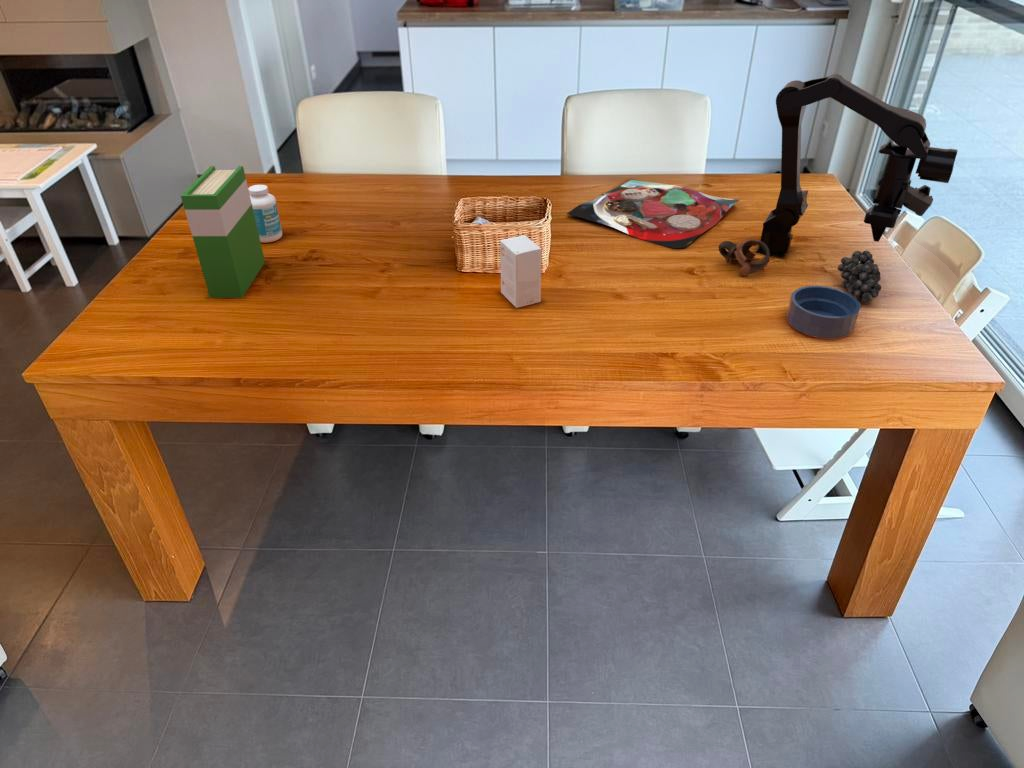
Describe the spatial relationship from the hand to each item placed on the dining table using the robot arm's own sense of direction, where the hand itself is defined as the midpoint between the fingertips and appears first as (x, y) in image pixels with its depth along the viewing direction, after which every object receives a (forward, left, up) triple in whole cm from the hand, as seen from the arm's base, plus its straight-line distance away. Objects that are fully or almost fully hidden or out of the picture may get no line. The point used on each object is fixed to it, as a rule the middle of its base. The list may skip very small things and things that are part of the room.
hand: (876, 240), depth 170 cm
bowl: (-4, -31, -7) cm, 32 cm away
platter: (-57, +6, -8) cm, 58 cm away
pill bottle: (-137, -59, -8) cm, 149 cm away
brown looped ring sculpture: (-26, -14, -8) cm, 30 cm away
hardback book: (-126, -79, -8) cm, 149 cm away
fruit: (0, -14, -8) cm, 16 cm away
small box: (-64, -53, -8) cm, 84 cm away
